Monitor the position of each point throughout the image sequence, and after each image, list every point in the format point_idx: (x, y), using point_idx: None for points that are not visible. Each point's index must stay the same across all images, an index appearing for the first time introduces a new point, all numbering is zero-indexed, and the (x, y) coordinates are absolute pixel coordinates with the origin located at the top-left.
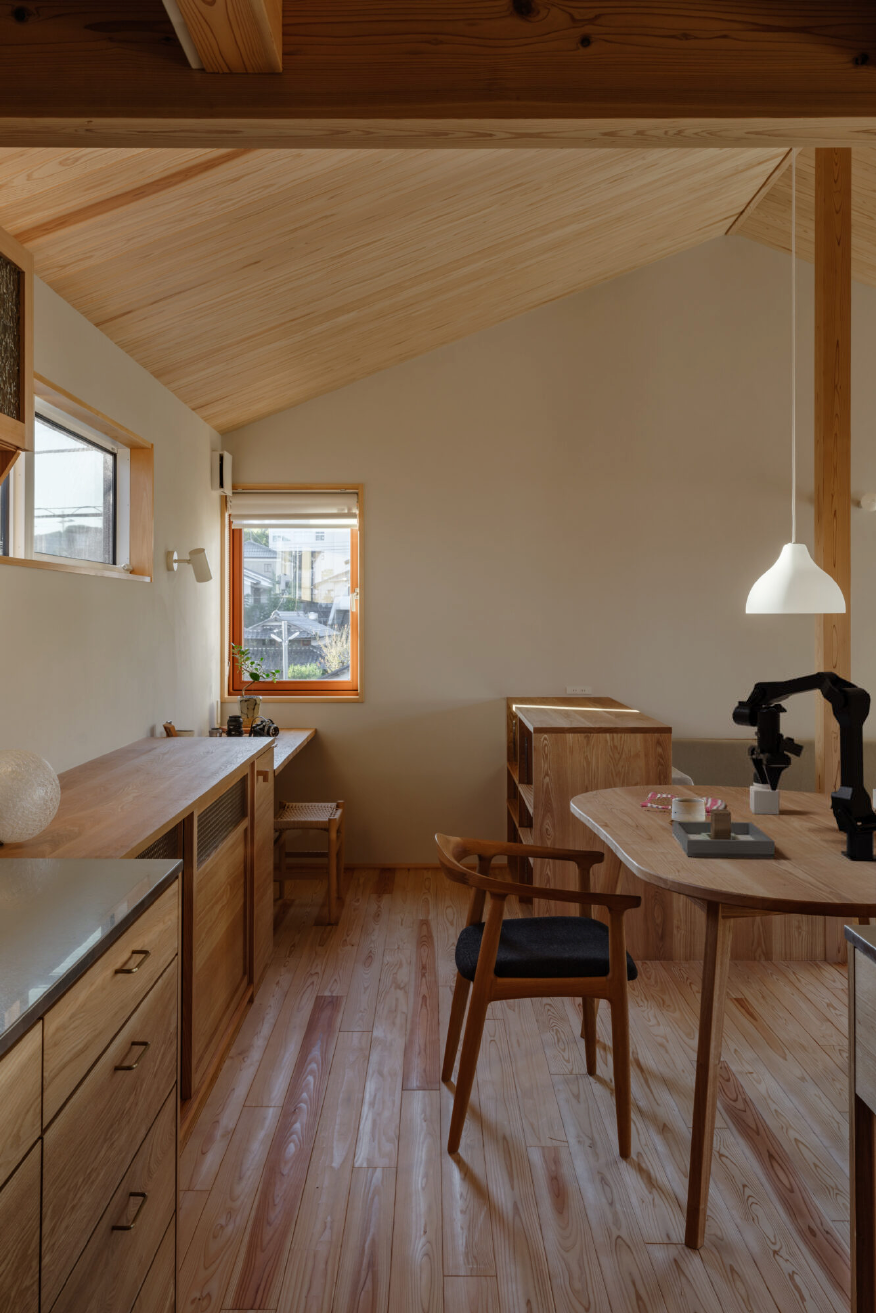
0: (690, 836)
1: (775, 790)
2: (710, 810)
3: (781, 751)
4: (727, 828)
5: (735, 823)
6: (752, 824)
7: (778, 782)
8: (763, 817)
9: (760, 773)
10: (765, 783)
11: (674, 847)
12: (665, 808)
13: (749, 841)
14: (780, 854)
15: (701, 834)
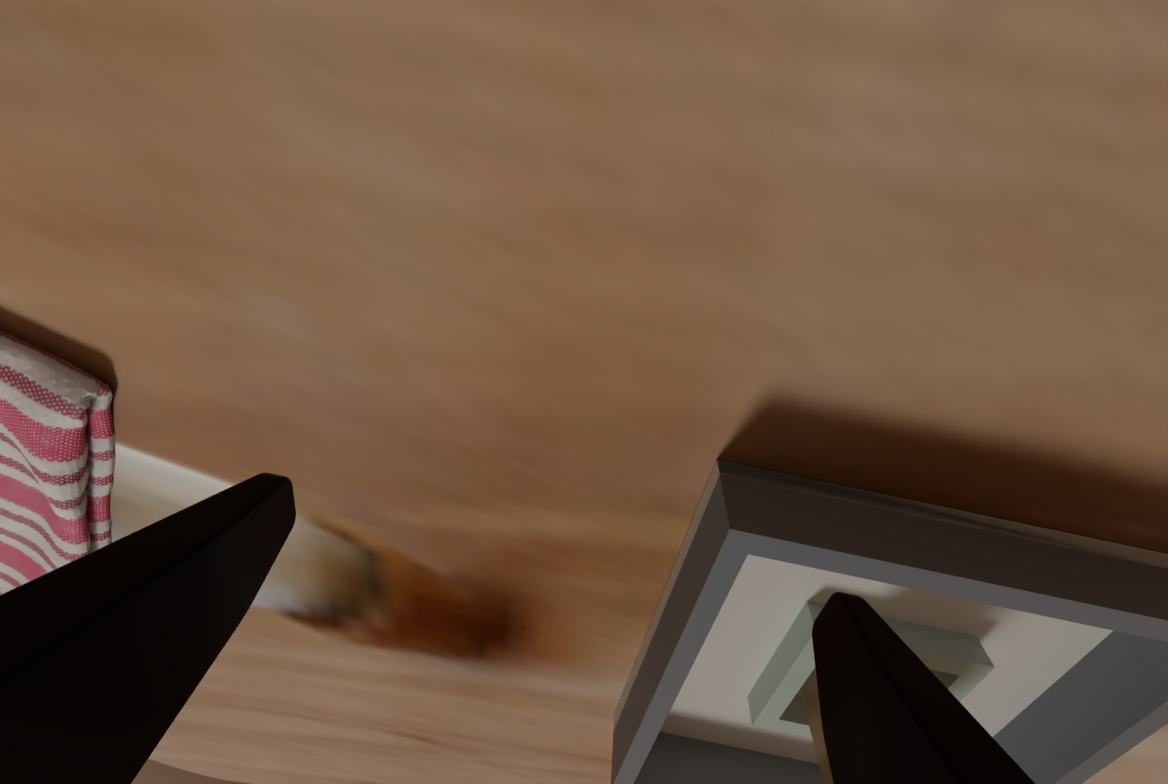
0: (693, 709)
1: (858, 602)
2: (79, 432)
3: None
4: None
5: (719, 608)
6: (795, 551)
7: (990, 736)
8: (56, 62)
9: (154, 705)
10: (280, 488)
11: None
12: None
13: (1158, 723)
14: (1139, 495)
15: (764, 723)
